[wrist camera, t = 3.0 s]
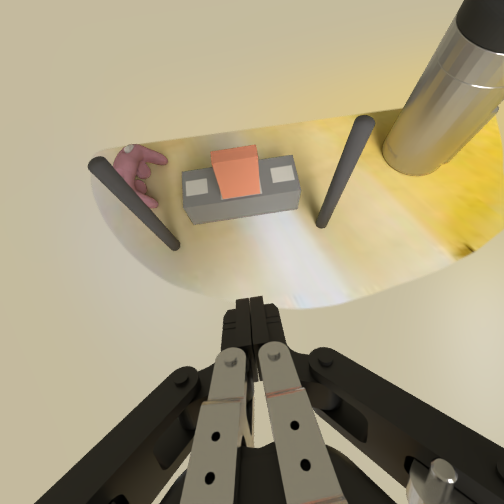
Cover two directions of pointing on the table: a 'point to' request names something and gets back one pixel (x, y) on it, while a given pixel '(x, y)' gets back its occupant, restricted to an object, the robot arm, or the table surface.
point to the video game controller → (138, 168)
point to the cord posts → (142, 211)
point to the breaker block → (217, 209)
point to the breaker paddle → (237, 171)
